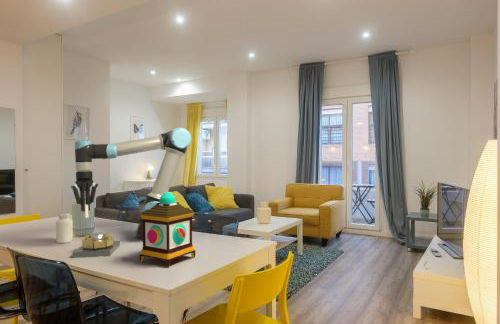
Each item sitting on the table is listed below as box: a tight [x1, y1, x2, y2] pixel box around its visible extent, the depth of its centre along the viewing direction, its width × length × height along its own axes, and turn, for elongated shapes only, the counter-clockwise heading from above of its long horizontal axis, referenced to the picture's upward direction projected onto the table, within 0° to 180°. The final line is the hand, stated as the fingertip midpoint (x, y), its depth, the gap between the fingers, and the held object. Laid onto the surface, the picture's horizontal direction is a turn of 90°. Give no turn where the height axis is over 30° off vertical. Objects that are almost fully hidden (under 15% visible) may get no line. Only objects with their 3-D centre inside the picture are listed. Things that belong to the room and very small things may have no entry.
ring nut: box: [81, 232, 114, 249], centre depth 167 cm, size 22×13×4 cm, turn 32°
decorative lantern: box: [138, 191, 196, 268], centre depth 149 cm, size 20×20×30 cm
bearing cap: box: [72, 232, 121, 259], centre depth 164 cm, size 16×20×8 cm
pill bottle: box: [55, 213, 74, 244], centre depth 184 cm, size 8×8×15 cm
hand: (85, 217), depth 171 cm, fingers closed
